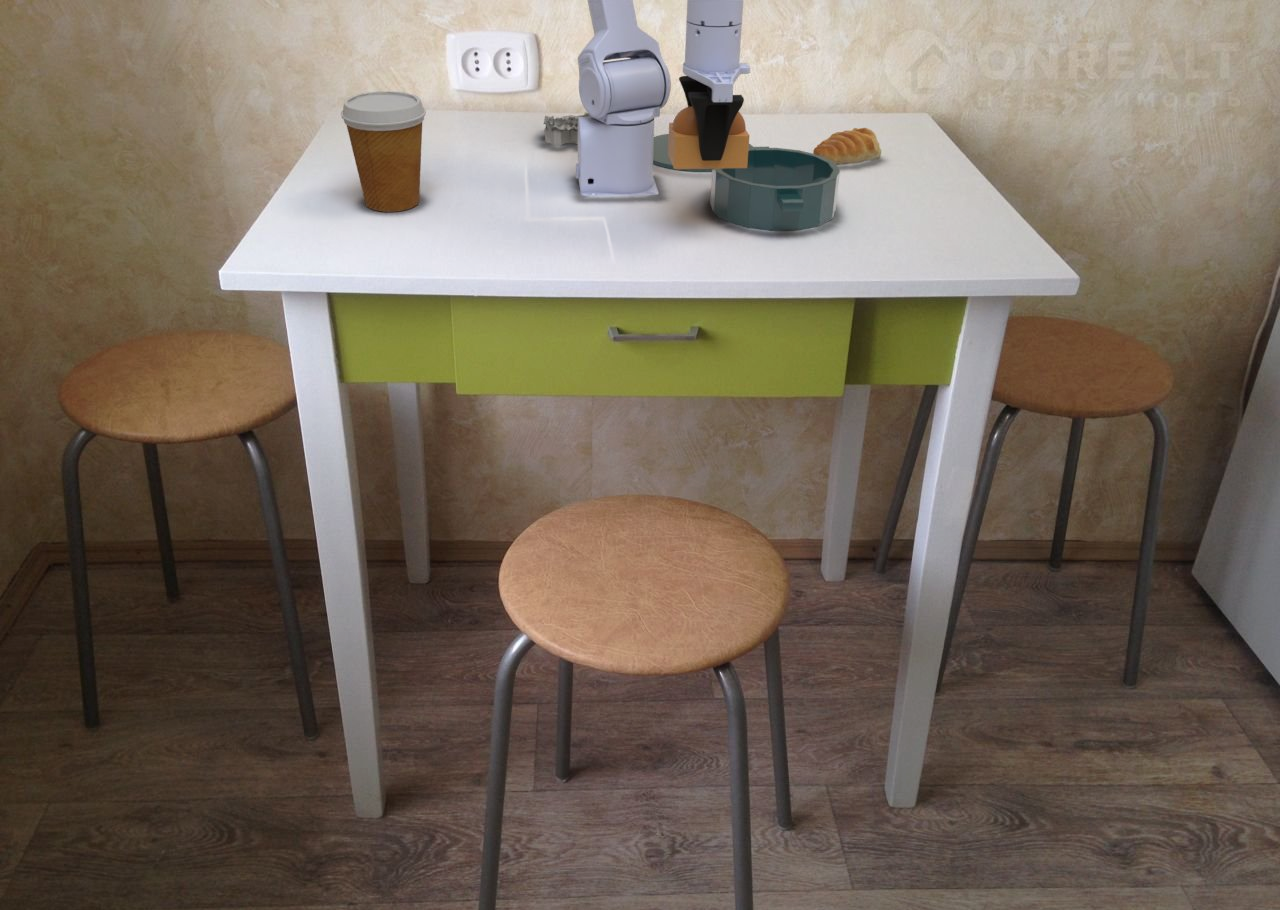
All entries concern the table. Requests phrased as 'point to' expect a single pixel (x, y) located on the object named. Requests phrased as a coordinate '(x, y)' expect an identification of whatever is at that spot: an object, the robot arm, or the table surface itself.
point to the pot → (777, 190)
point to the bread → (687, 144)
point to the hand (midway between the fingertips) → (707, 151)
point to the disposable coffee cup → (386, 147)
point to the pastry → (850, 147)
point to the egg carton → (562, 129)
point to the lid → (662, 154)
